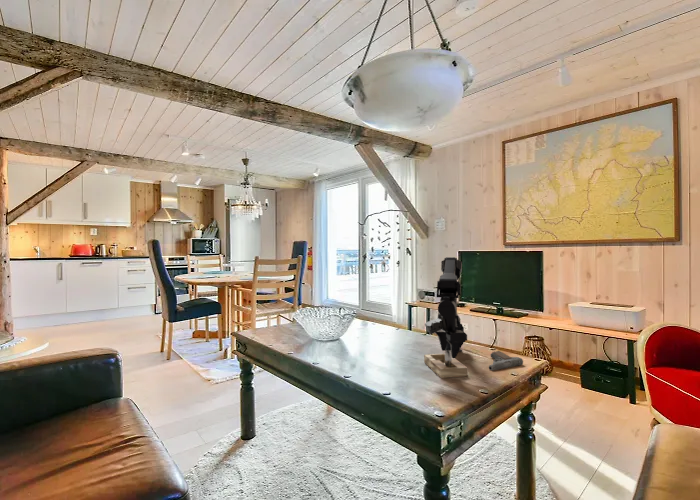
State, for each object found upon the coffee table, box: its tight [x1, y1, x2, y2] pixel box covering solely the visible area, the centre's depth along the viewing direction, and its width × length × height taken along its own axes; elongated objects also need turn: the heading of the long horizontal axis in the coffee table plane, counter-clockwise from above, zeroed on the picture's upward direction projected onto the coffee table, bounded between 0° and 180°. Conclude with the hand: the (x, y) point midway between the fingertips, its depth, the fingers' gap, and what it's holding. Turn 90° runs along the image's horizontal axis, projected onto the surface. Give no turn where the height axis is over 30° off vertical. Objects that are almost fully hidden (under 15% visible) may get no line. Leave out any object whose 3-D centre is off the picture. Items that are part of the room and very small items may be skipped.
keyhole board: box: [423, 353, 469, 379], centre depth 136 cm, size 17×10×3 cm, turn 8°
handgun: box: [488, 350, 524, 371], centre depth 141 cm, size 3×16×12 cm
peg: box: [444, 350, 453, 368], centre depth 132 cm, size 4×4×8 cm
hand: (448, 354), depth 132 cm, fingers open, 9 cm apart
